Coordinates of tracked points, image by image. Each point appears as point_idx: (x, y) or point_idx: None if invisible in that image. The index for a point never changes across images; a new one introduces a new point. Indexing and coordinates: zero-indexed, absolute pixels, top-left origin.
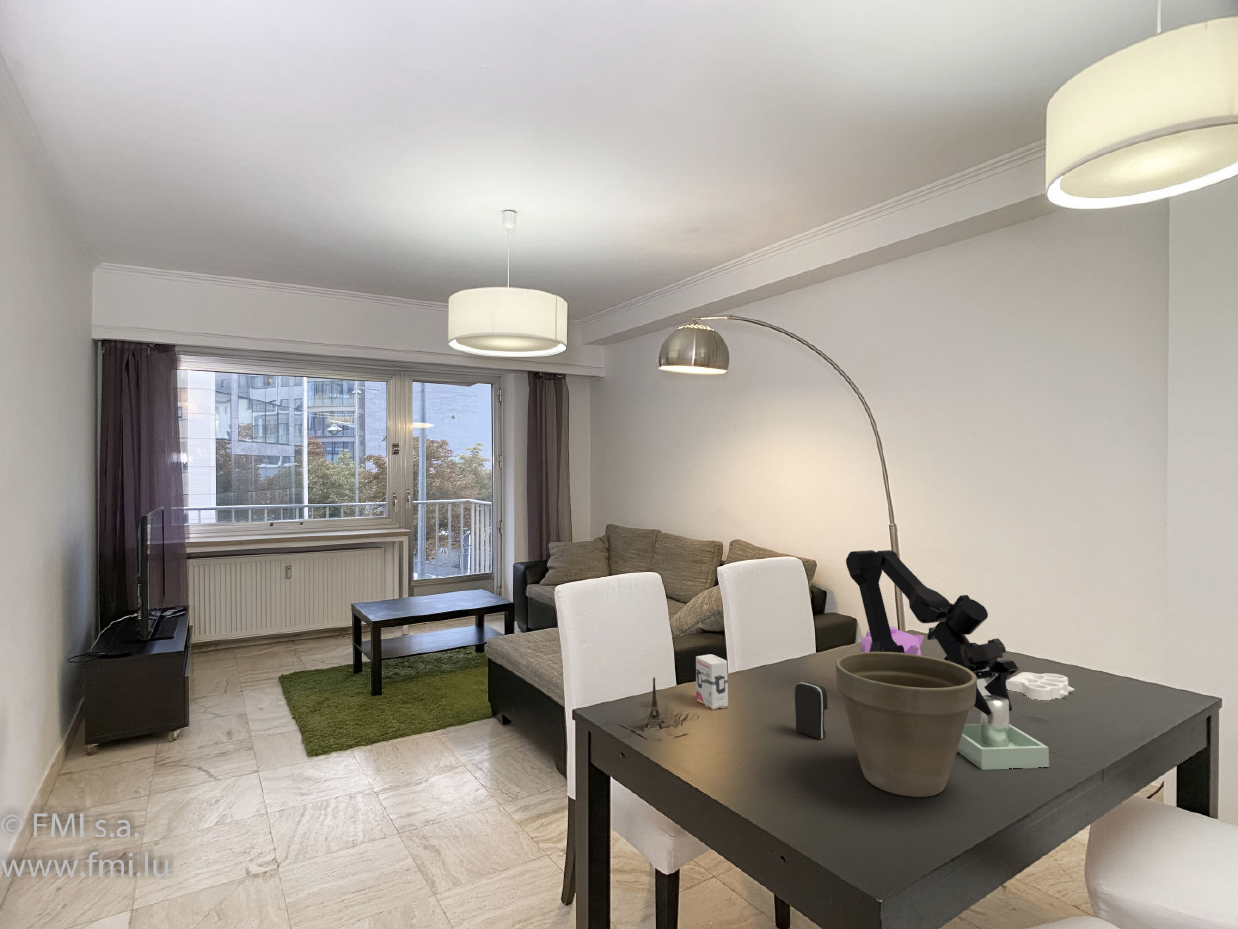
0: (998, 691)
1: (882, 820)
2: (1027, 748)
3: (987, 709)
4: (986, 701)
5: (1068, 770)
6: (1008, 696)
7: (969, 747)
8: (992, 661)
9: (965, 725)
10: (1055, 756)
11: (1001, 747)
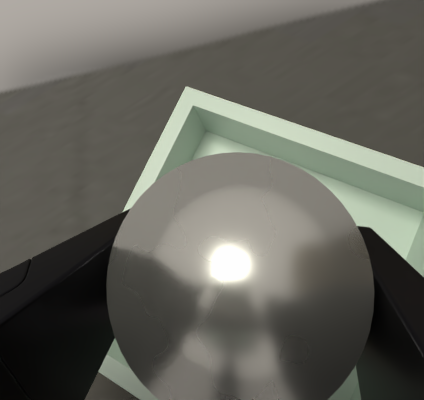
0: (52, 345)
1: None
2: (264, 114)
3: (388, 245)
4: (371, 280)
5: (171, 89)
6: (63, 242)
7: None
8: None
9: None
10: (101, 169)
11: (367, 162)
